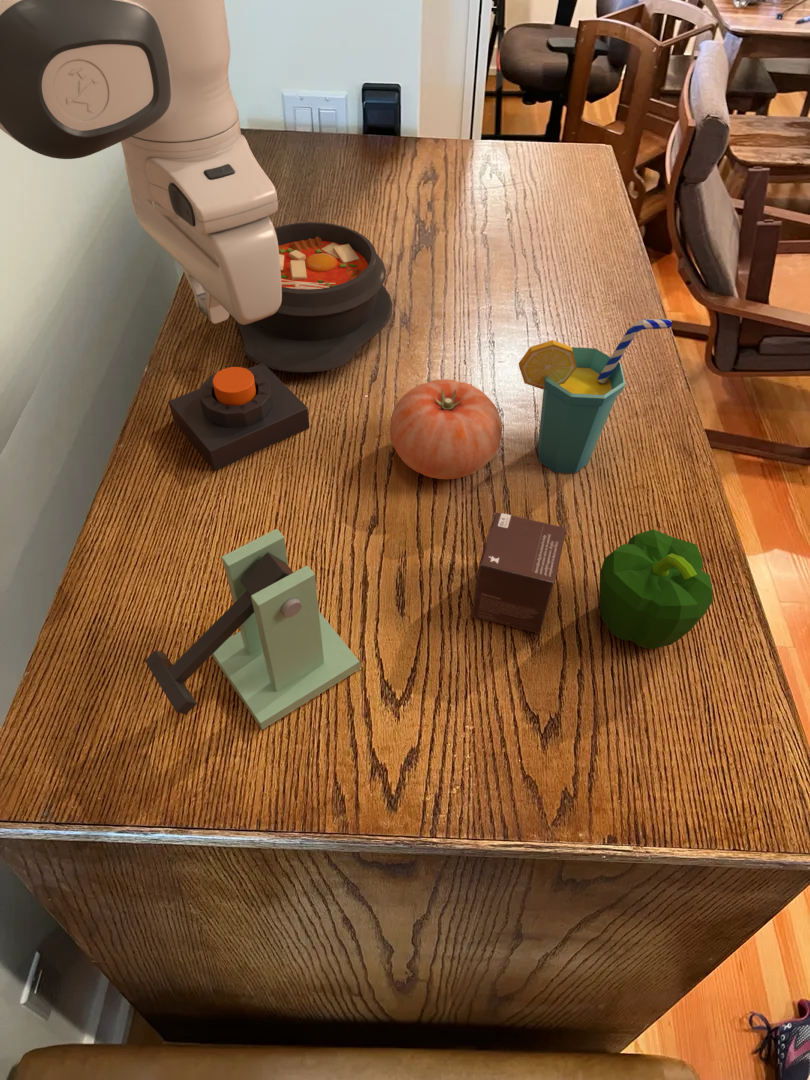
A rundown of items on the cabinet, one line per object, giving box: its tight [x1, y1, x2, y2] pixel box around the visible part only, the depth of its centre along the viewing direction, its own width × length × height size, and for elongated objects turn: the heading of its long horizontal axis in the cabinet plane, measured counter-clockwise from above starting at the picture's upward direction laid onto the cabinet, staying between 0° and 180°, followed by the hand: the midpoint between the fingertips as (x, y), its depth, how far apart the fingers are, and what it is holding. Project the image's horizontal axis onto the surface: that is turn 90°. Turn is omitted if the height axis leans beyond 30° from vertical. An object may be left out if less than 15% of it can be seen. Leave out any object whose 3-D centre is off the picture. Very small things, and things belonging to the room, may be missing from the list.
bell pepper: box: [599, 528, 714, 650], centre depth 61 cm, size 8×8×10 cm
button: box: [213, 366, 256, 406], centre depth 76 cm, size 4×4×2 cm
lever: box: [144, 552, 295, 715], centre depth 53 cm, size 12×5×2 cm, turn 127°
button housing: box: [167, 363, 310, 472], centre depth 78 cm, size 11×9×4 cm
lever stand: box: [211, 528, 361, 731], centre depth 57 cm, size 9×8×13 cm
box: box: [471, 511, 567, 634], centre depth 63 cm, size 6×6×7 cm
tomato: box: [389, 379, 503, 480], centre depth 74 cm, size 11×11×8 cm
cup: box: [518, 318, 673, 474], centre depth 72 cm, size 14×8×15 cm, turn 110°
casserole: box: [235, 221, 393, 373], centre depth 88 cm, size 25×19×8 cm
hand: (213, 314), depth 69 cm, fingers closed
